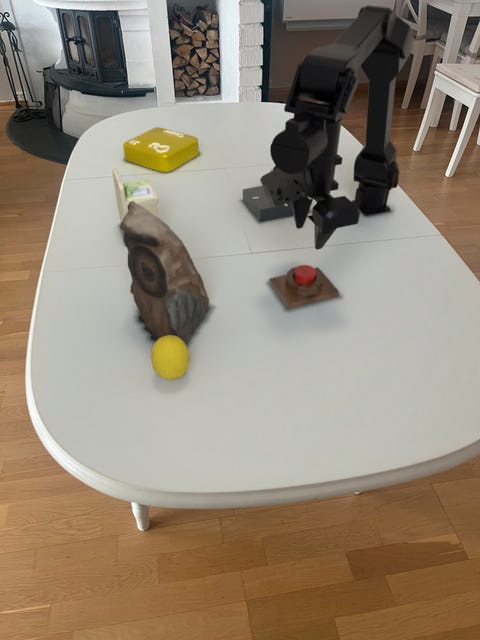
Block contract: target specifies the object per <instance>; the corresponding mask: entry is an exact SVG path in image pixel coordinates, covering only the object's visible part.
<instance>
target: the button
mask: <svg viewBox="0 0 480 640" xmlns="http://www.w3.org/2000/svg"><path fill="white" fill-rule="evenodd" d="M296 267H297V268H296V269H295V277H294V279H295V281H296V282H299V283H301V284H310V283H313V282H314V280H315V273H316V271H315V269H314V268H315V267H313V266H311V265H307V264H301V265H298V266H296Z"/></svg>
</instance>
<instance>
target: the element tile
mask: <svg viewBox="0 0 480 640" xmlns="http://www.w3.org/2000/svg"><path fill="white" fill-rule="evenodd" d="M122 147H123V148H122V149H123V154H124V159H125V161H126V162H128V163H131V164H134V165H137V166H140V167H144V168H148V169H151V170H154V171H157V172H161V173H168V172H172V171H173V170H175V169H177V168H179V167H180V166H182V165H184V164H185V163H187V162H188V161H190V160H192V159H193V158H196V157H197V156H198V155H199V153H200V151H199V138H198V137H196V136H194V135H190V134H186V133H182V132H178V131H175V130H172V129H168V128H164V127H159V126H157V127H153V128H151V129H149V130H146V131H145V132H143V133H141V134H139V135H137V136H135V137H133V138H130V139H129V140H127V141H125V142H124V143H122Z"/></svg>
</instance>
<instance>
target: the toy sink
mask: <svg viewBox="0 0 480 640" xmlns="http://www.w3.org/2000/svg"><path fill="white" fill-rule="evenodd" d="M111 170H112V177H113V183H114V190H115V197H116V203H117V209H118V215H119V221H120V223H121V222H122V220H123V218H124V217H125V215H126V214H127V212H128V207H127V206H128V205H129V202H131V201H134V202H135V203H136V204H138V205H140V206H142V207H143V208H144V209H146V210H147V211H148V212H150V213H151V214H153V215H154V216H156V217H157V218H159V214H158V202H159V196H158V194H157V192H156V190H155V188H154V186H153V183H152V181H151V180H150V179H140V180H137V181H125V182H123V181H122V178H121V176H120V173H119V170H118V169H117V168H112V169H111ZM122 232H123V233H124V231H123V230H122Z"/></svg>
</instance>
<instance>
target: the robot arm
mask: <svg viewBox="0 0 480 640" xmlns="http://www.w3.org/2000/svg"><path fill="white" fill-rule="evenodd" d="M413 45H414V35H413V31H412V28H411V26H410V25H409V24H408V23H406V22H405V21H404V20H403V19H401V18H400V17H398V15H397V12H396V11H395V9H393V8H392V7H389V6H380V5H372V4H367V5H366V6H362V7H360V9H359V11H358V15H357V17H355V19H354V20H353V21H352V22H351V23H350V24H349V25H348V27H347V28H346V29H345V30H344V31H342V33H341V34H340V35H339V36H338V37H337V38H336V39H335V41H334V42H333V43H331V44H327V45H324V46H323V45H322V46H319V47H316V48H314V49H312V50H311V51H310V52H308V53H307V54H306V55H304V57H303V59H302V60H301V61H300V62H299V64H298V65H297V68H296V71H295V73H294V76H293V80H292V83H291V86H290V90H289V94H288V96H287V99H286V102H285V105H284V109H283V112H285V113H289V114H293V117H292V118H289V119H288V120H286V121H285V124H284V129H283V130H282V131H280V132H278V133H277V134H276V135H275V136H274V138H273V139H272V142H271V144H270V146H269V152H270V156H271V161H272V162H273V164H274V166H273V167H272V169H273V171H271V170H270V171H269V172H267V173H264V174H263V175H262V176H261V177H260V178H259V179H260V183H261V186H263V189H264V192H265V195H266V197H267V198H268V199H269V200H270V201H271V202H272V203H273V205H274V206H282V205H284V204H290V203H291V207H292V211H293V215H292V216H293V220H294V224H295V228H296V229H297V230H298V229H299V230H300V229H302V228H304V225H305V224H306V221H307V218H308V219H309V220H310V222H311V223H313V225H314V227H313V228H314V233H313V234H314V235H313V237H314V249H315V250H316V251H318V250H321V249H323V248H324V246H325V245H326V244H327V243H328V241H329V240H330V239H331V237H332V236H333V234H334V233H335V232H336V230H337V229H340V228H344V227H349V226H354V225H358V224H359V223H360V217H361V213H362V214H363V215H364V216H367V217H368V216H371V215H377V214H381V213H387V212H390V211H391V207H390V206H388V205H387V203H388V200H389V194H390V191H392V189H396V188H397V187H398V185H399V180H400V173H401V172H400V167H399V162H397V152H398V151H397V149H396V148H395V146H394V144H393V143H392V142H391V130H392V121H393V120H392V119H393V111H394V101H395V93H396V92H395V91H396V81H397V76H398V75H399V73H400V71H401V70H402V68H403V67H404V65H405V63H406V62H407V60H408V59H409V57H410V54H411V53H412V49H413ZM359 68H360V69H361V70H362V72H363V73H364V75H365V77H366V78H367V80H368V89H367V90H368V92H367V107H366V128H365V143H364V144H363V146H362V148H361V150H360V151H359V153H358V154H357V155H356V157H355V160H354V163H353V182H356V183H358V186H357V188H356V189H355V196H354V200H350V199H349V198H348V197H347V196H346V195H341V196H336V197H334V196H333V195H332V194H331V192H332V191H338V190H339V186H340V185H339V184H340V183H339V182H337V180H335V174H336V166H340V165H342V164H343V157H342V156H341V155H339V154H338V150H339V143H340V136H341V128H342V120H343V115H347V112H348V110H349V107H350V105H351V102H352V101H353V98H354V95H355V93H356V90H357V88H358V85H359V79H358V70H359ZM300 97H301V99H300ZM303 99H308V100H312V101H308V100H303ZM314 101H317V102H314ZM313 201H315V202H316V203H315V204H314V205H313V206H312V204H313ZM311 207H312V210H311V214H309V213H310V209H311Z"/></svg>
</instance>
